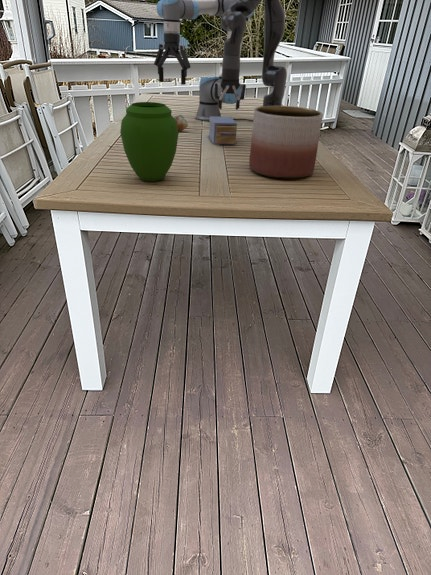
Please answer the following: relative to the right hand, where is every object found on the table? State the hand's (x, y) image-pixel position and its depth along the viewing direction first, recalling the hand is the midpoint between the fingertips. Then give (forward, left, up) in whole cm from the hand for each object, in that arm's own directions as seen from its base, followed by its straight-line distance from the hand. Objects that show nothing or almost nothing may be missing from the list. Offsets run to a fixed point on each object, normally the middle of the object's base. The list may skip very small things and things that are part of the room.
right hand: (228, 109), depth 183 cm
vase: (+44, +40, -16) cm, 62 cm away
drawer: (-1, -7, -16) cm, 17 cm away
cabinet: (-2, -13, -16) cm, 21 cm away
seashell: (+13, -36, -16) cm, 42 cm away
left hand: (+17, -36, +6) cm, 40 cm away
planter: (-7, +41, -16) cm, 45 cm away
